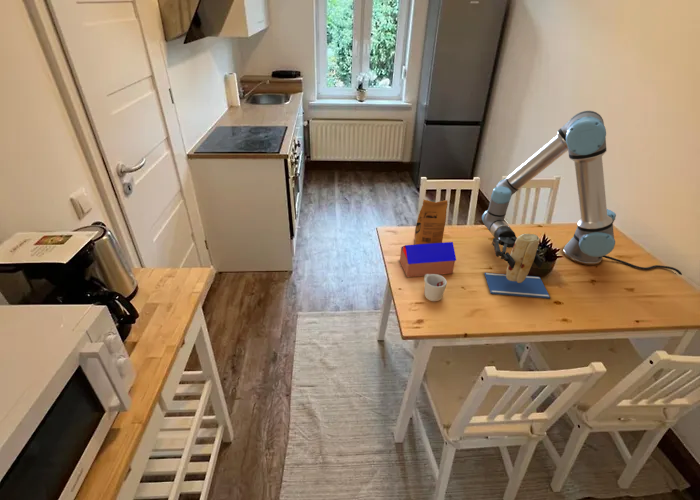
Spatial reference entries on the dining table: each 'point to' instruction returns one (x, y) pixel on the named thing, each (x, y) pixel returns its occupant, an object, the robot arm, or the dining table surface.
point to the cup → (434, 286)
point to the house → (428, 259)
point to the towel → (516, 286)
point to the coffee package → (431, 222)
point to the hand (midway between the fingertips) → (527, 265)
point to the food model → (522, 257)
